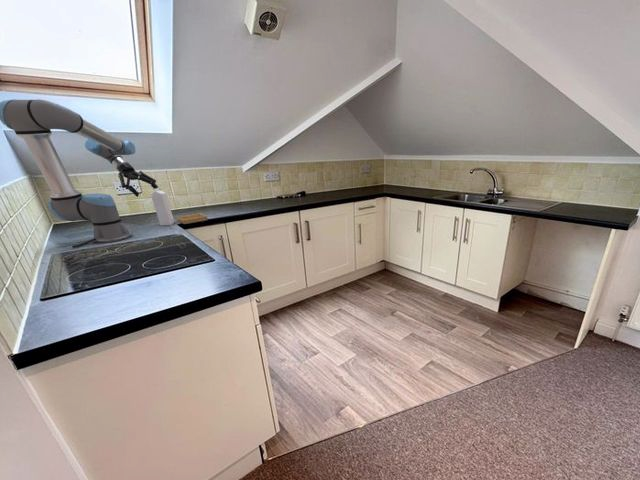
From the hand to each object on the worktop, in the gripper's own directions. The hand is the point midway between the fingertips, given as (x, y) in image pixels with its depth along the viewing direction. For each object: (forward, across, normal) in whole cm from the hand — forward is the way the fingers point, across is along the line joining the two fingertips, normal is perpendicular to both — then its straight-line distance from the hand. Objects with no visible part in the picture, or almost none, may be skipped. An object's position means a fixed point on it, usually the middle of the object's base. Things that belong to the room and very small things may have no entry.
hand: (149, 193), depth 182 cm
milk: (+19, 0, -8) cm, 21 cm away
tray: (+24, -12, -2) cm, 27 cm away
